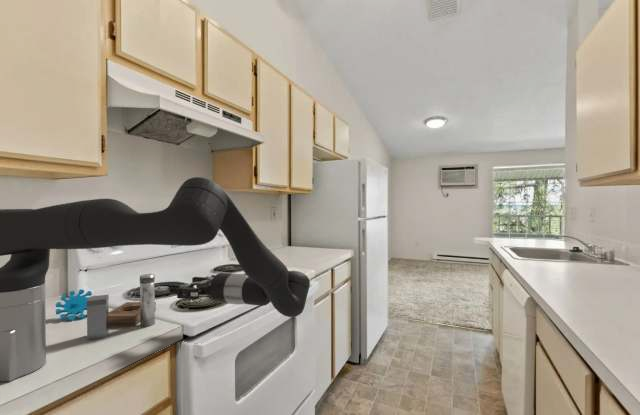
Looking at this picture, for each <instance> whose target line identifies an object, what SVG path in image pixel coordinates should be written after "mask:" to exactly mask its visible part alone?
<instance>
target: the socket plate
mask: <svg viewBox="0 0 640 415" xmlns="http://www.w3.org/2000/svg"><path fill="white" fill-rule="evenodd" d="M155 310H156V311H157V308H156V301H155ZM139 324H140V301H130V302H129V301H126V302H125V303H122V304H121V305H119V306H117V307H116V308H113V309H112V310H110V311H109V328H111V327H136V326H137V325H139Z"/></svg>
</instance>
